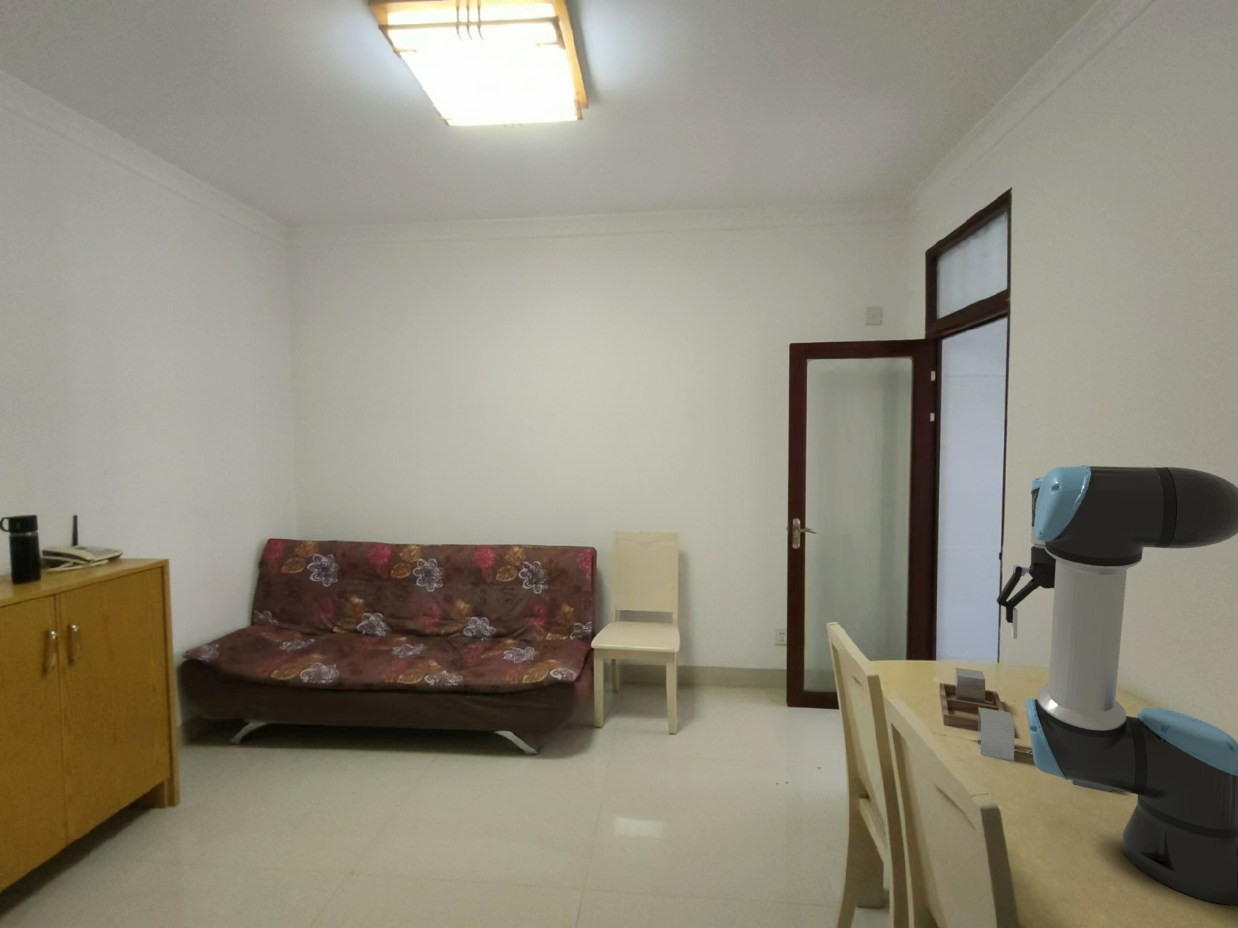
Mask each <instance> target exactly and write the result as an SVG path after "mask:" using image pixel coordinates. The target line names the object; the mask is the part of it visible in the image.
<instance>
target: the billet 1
mask: <svg viewBox="0 0 1238 928" xmlns="http://www.w3.org/2000/svg"><path fill="white" fill-rule="evenodd" d="M954 670H955V672H954V675H955V678H954V679H955V682H954V683H955V684H954V685H955V699H957V700H964V701H970V702H976V703H982V704H985V690H986V678H985V675H984V673H983V671H982V670H975V669H968V668H960V667H955V669H954Z"/></svg>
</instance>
